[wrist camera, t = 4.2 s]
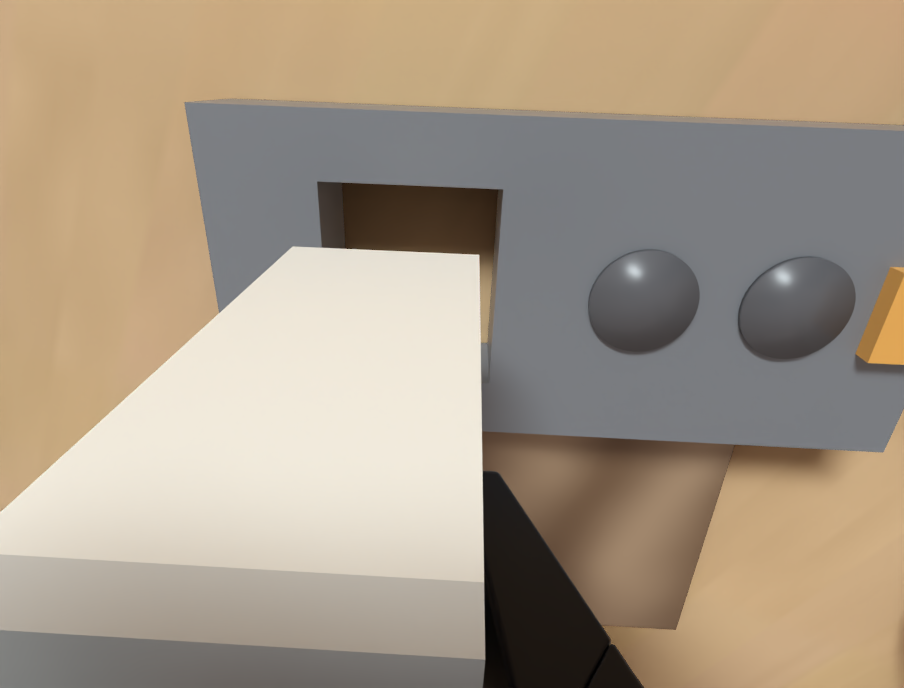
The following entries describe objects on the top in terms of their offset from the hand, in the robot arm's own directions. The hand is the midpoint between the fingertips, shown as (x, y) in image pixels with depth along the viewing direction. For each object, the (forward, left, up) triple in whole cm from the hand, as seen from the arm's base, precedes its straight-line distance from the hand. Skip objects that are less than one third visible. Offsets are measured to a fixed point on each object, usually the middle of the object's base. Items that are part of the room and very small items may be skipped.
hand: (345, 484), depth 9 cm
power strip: (-5, 0, -12) cm, 13 cm away
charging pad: (-7, +12, -12) cm, 18 cm away
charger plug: (0, 0, -5) cm, 5 cm away
